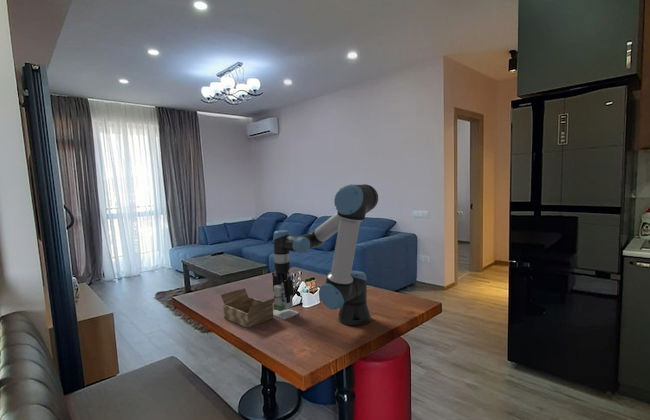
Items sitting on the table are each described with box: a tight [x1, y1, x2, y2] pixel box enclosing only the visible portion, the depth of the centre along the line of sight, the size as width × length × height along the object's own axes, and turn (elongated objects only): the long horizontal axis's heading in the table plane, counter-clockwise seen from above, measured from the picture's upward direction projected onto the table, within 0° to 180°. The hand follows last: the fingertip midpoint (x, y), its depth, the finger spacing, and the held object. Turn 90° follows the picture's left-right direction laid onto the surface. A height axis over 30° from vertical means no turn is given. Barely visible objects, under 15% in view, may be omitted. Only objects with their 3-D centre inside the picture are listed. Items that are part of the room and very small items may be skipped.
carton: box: [220, 287, 275, 329], centre depth 166 cm, size 25×15×11 cm, turn 49°
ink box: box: [273, 283, 294, 311], centre depth 170 cm, size 9×5×12 cm, turn 137°
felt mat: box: [273, 308, 300, 321], centre depth 170 cm, size 12×10×1 cm
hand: (283, 307), depth 170 cm, fingers closed on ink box, 5 cm apart
